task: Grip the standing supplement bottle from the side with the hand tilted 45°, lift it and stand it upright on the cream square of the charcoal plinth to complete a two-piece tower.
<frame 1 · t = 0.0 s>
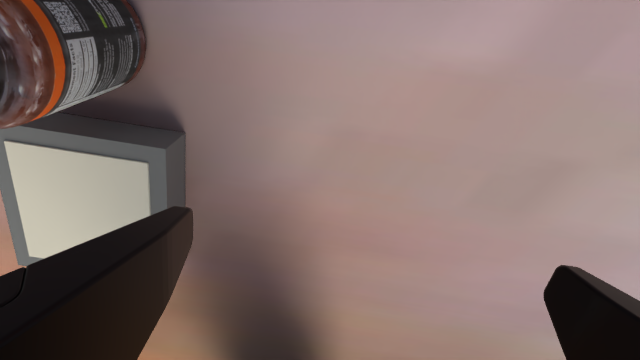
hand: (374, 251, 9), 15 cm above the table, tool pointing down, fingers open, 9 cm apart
supplement bottle: (100, 35, 21), on the table
plinth: (112, 190, 25), on the table
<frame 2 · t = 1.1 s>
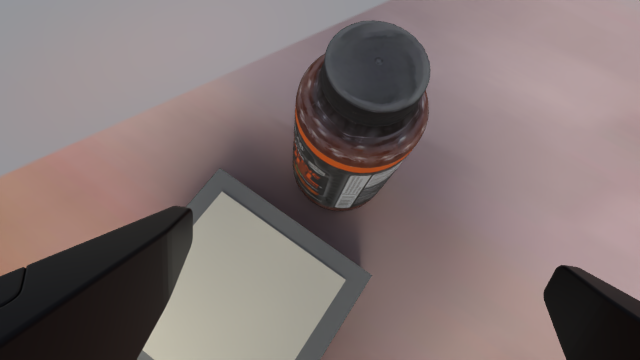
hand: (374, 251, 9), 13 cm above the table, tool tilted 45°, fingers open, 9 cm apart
supplement bottle: (337, 170, 24), on the table
plinth: (240, 302, 21), on the table
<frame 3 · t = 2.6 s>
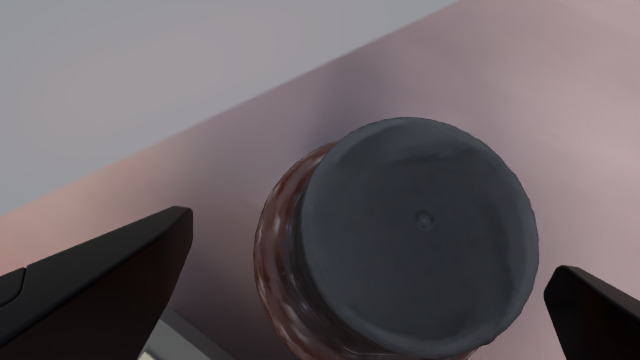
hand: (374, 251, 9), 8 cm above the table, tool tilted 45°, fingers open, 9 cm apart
supplement bottle: (334, 278, 17), on the table
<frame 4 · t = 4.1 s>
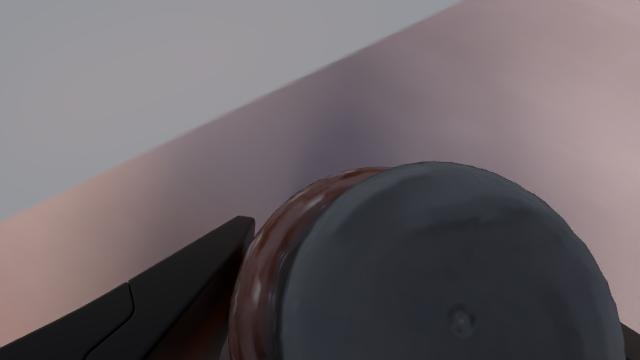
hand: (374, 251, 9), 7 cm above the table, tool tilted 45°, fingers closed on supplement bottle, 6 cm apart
supplement bottle: (333, 310, 15), on the table, touching gripper
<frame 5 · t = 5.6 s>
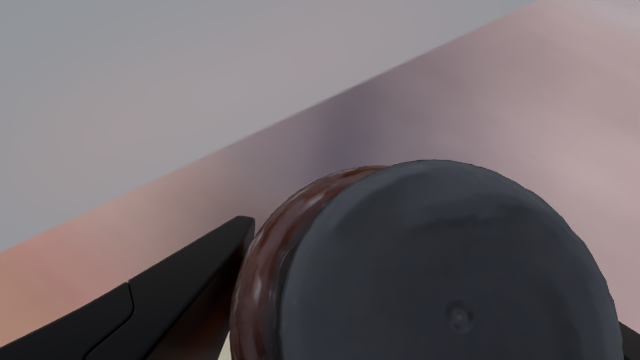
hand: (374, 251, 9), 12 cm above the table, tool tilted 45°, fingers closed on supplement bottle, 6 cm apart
supplement bottle: (334, 309, 15), point 5 cm above the table, touching gripper
when the fingers open (11 cm above the table, at t = 7.3 s): supplement bottle drops 1 cm, resting on plinth.
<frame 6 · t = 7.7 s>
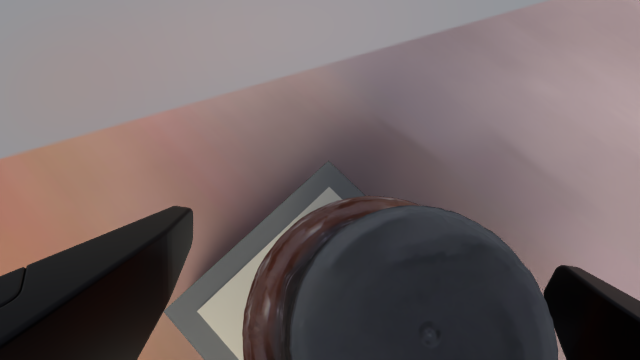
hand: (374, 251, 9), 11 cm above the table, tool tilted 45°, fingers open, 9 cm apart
supplement bottle: (332, 315, 16), point 3 cm above the table, touching plinth
plinth: (323, 310, 19), on the table
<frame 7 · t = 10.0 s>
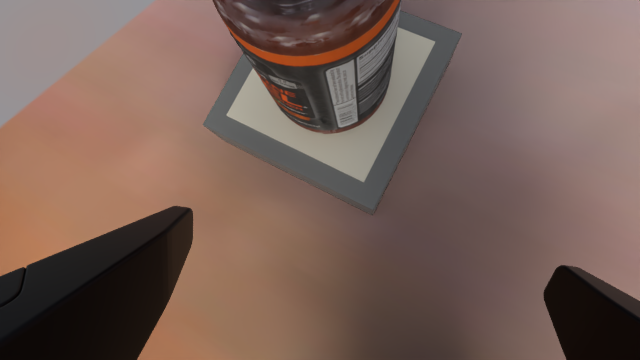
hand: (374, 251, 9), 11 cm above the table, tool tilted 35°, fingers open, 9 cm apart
supplement bottle: (331, 83, 19), point 3 cm above the table, touching plinth
plinth: (334, 102, 22), on the table
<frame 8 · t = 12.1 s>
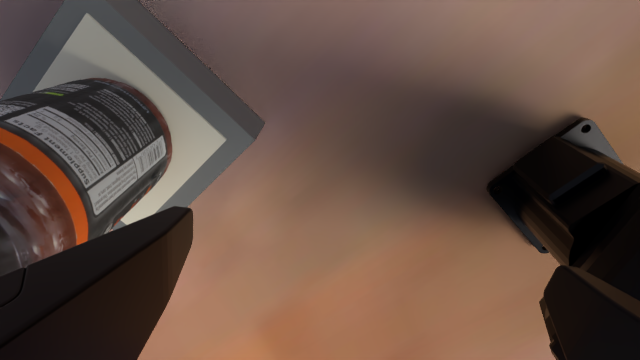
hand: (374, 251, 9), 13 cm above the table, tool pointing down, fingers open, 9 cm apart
supplement bottle: (120, 134, 19), point 3 cm above the table, touching plinth
plinth: (144, 119, 21), on the table
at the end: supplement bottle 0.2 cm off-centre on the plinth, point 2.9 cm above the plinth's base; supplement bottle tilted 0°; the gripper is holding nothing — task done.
